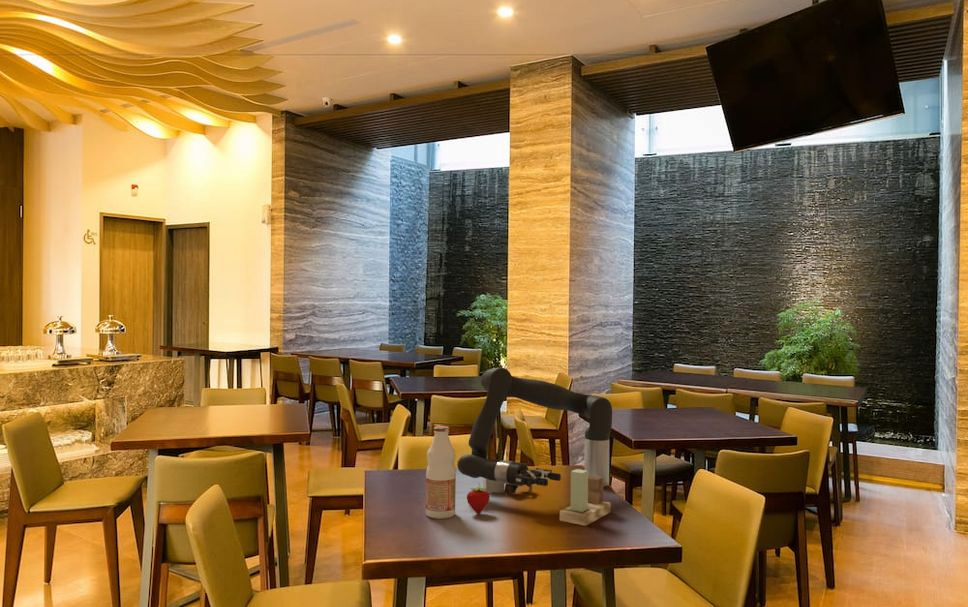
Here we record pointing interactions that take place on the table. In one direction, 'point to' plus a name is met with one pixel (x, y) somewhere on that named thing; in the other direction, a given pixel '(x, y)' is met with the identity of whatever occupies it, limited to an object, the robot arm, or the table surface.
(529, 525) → the table surface
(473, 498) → the strawberry
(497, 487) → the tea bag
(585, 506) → the pillar
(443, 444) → the fruit juice
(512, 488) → the pottery mug
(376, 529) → the table surface
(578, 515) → the base slab
